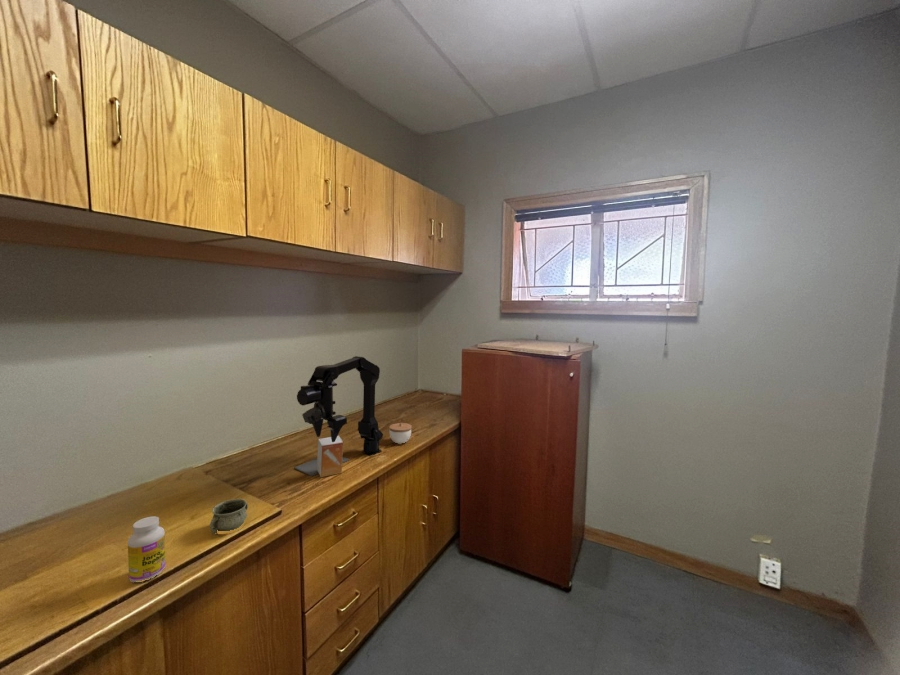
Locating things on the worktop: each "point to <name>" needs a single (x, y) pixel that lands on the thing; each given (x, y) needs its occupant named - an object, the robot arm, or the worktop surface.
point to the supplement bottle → (146, 549)
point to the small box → (329, 456)
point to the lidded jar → (400, 432)
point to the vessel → (228, 515)
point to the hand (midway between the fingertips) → (325, 439)
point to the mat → (312, 467)
